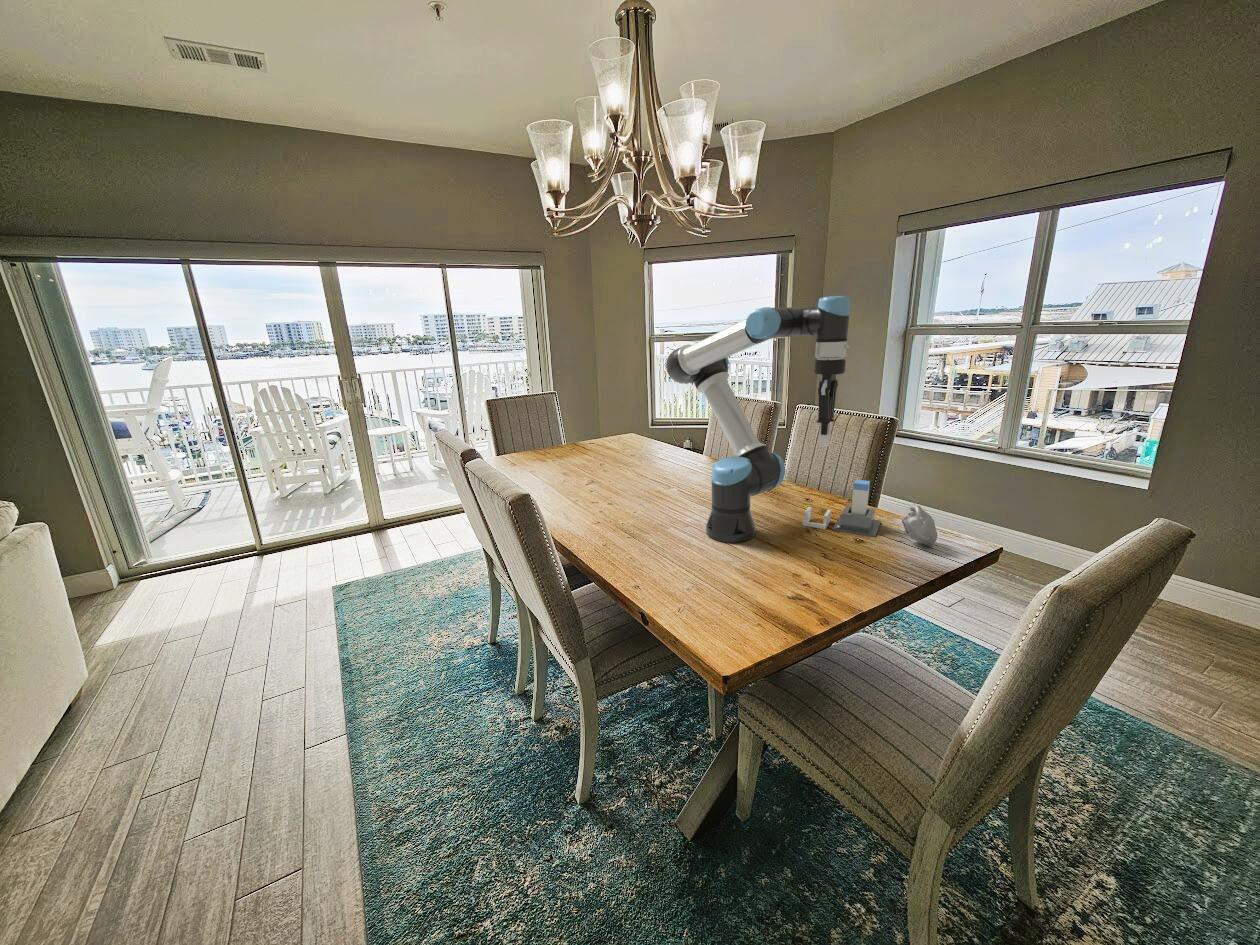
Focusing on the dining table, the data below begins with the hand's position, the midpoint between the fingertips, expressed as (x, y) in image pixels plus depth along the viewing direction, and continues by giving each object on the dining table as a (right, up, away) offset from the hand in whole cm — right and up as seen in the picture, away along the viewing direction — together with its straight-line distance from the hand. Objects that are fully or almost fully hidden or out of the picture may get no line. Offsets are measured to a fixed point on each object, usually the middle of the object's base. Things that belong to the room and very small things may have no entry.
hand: (824, 445), depth 133 cm
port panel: (+18, -24, +18) cm, 35 cm away
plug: (+18, -24, +18) cm, 35 cm away
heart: (+29, -29, +3) cm, 41 cm away
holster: (+7, -24, +22) cm, 33 cm away
